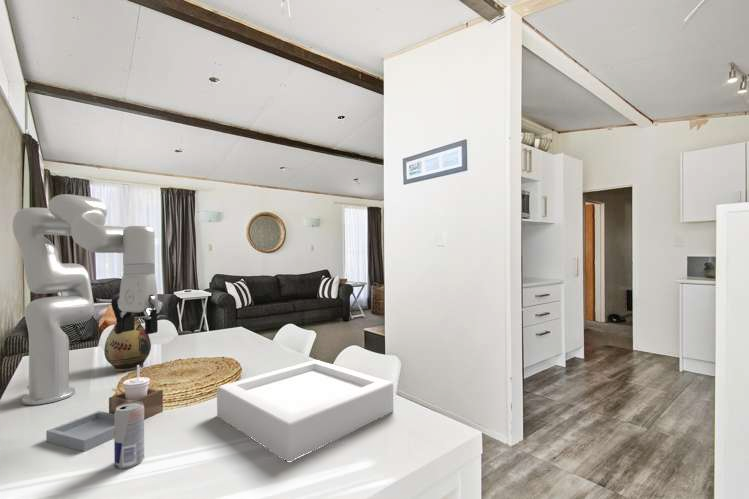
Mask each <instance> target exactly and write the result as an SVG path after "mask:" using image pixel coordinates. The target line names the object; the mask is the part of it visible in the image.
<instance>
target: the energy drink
mask: <svg viewBox="0 0 749 499" xmlns="http://www.w3.org/2000/svg"><path fill="white" fill-rule="evenodd" d="M113 440H114V445H113V446H114V450H113V451H114V452H113V453H114V456H113V457H114V458H113V461H114V467H115V468H117V469H121V470H123V469H129V468H133V467H135V466H137V465H140V463H142V462H143V461H144V459H145V420H144V406H143V403H142V402H129V403H125V404H122V405H120V406H118V407H117V408H116V410H115V413H114V438H113Z"/></svg>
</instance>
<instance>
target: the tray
mask: <svg viewBox="0 0 749 499" xmlns="http://www.w3.org/2000/svg"><path fill="white" fill-rule="evenodd" d="M391 412H392V413H393V412H394V383H393V382H392V381H391V380H386V379H382V378H380V377H377V376H376V377H375V376H372V375H370V374H369V375H368V374H366V373H362V372H359V371H356V370H353V369H350V368H346V367H342V366H338V365H337V364H333V363H328V362H325V361H322V360H319V359H313V360H310V361H306V362H303V363H298V364H296V365H292V366H288V367H284V368H281V369H276V370H274V371H273V370H272V371H270V372H266V373H261V374H258V375H255V376H251V377H247V378H243V379H239V380H236V381H232V382H228V383H225V384H222V385H219V386H217V388H216V415H217V418H219V419H220V418H221V419H220V420H222V421H223V420H224V422H225V423H226V422H227V423H226V424H228V423H229V424H230V426H231V425H232V426H231V427H233V426H234V427H235V428H234V427H233V428H234V429H236V428H237V429H239V430H240V431H242V432H243V433H245V434H246V435H248V436H250V437H252V438H253V439H255V440H256V441H258V442H259V443H261V444H262V445H264V446H265V447H266V448H268V449H269V450H271V451H272V452H274V453H275V454H277V455H278V456H280V457H282V458H283V459H285V460H286V461H292V460H294V459H295V458H297V457H299V456H301V455H303V454H306V453H308V452H310V451H313V450H315V449H317V448H319V447H321V446H323V445H325V444H327V443H329V442H331V441H333V442H335V441H334V440H336V439H338V438H340V437H342V436H344V435H346V434H348V433H350V434H351V432H352V433H354V432H356V431H357V430H356V429H358V428H360V427H362V426H364V425H366V424H368V423H370V422H372V421H374V420H376V419H378V418H380V417H382V416H384V415H386V416H388V415H390V414H392V413H391ZM389 413H390V414H389ZM387 414H388V415H387ZM384 417H385V416H384ZM382 418H383V417H382ZM380 419H381V418H380ZM378 420H379V419H378ZM376 421H377V420H376ZM374 422H375V421H374ZM372 423H373V422H372ZM229 424H228V425H229ZM370 424H371V423H370ZM368 425H369V424H368ZM366 426H367V425H366ZM364 427H365V426H364ZM362 428H363V427H362ZM237 429H236V430H237ZM360 429H361V428H360ZM239 430H238V431H239ZM355 430H356V431H355ZM358 430H359V429H358ZM240 431H239V432H240ZM353 431H354V432H353ZM242 432H241V433H242ZM243 433H242V434H243ZM245 434H244V435H245ZM246 435H245V436H246ZM348 435H349V434H348ZM248 436H247V437H248ZM346 436H347V435H346ZM344 437H345V436H344ZM342 438H343V437H342ZM340 439H341V438H340ZM338 440H339V439H338ZM336 441H337V440H336ZM331 443H332V442H331ZM329 444H330V443H329ZM327 445H328V444H327ZM325 446H326V445H325ZM265 447H264V448H265ZM323 447H324V446H323ZM266 448H265V449H266ZM321 448H322V447H321ZM268 449H267V450H268ZM319 449H320V448H319ZM269 450H268V451H269ZM317 450H318V449H317ZM271 451H270V452H271ZM315 451H316V450H315ZM272 452H271V453H272ZM313 452H314V451H313ZM274 453H273V454H274ZM275 454H274V455H275ZM277 455H276V456H277ZM278 456H277V457H278ZM280 457H279V458H280ZM283 459H282V460H283ZM286 461H285V462H286Z"/></svg>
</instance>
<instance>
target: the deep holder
mask: <svg viewBox="0 0 749 499" xmlns="http://www.w3.org/2000/svg"><path fill="white" fill-rule="evenodd" d="M163 392H164V390H163V389H158V388H151V387H148V391H147V395H145V396H143V397H140V398H138V399H135V400H129V399H126V396H125V391H124V392H122V393H119V394H115V395H113V396H109V397H108V413H111V414H114V413H115V410H116V408H117V407H118V406H120V405H122V404H125V403H129V402H142V403H143V406H144V421H145V420H147V419H149V418H152V417H153V416H156V415H158V414H160V413H163V412H164V411H163V410H164V403H163V402H164V400H163V398H164V396H163V395H164V393H163Z"/></svg>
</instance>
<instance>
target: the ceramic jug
mask: <svg viewBox="0 0 749 499" xmlns="http://www.w3.org/2000/svg"><path fill="white" fill-rule="evenodd" d="M119 297H120V293H116V294H114V295H113V296H112V297H111V303H110V304H111V308H112V311H113V314H114V317H115V319H116V323H115V324H114V326H113V327H112V329H111V331H110V332H109V334H108V335H107V337H106V340H105V344H104V349H103V350H104V351H103V353H104V357H105V359H106V361H107V362H108V363H109V364H110V365H111V366H112V367H114V371H115V372H123V371H132V370H137V365H139V369H141V368H143V367H142V366H144V363H145V361H146V360H147V358H148V357H149V356H150V354H151V350H152V343H151V339H150V336H149V335H150V334H145V326H143V325H142V323H140V321H139V320H138V319H137V318H136V317H135V316H134V314H133V315H132V316H134V319H135V329H134V330H132V331H127V332H122V318H123V317H121V312H120V311H119V305H118V301H119ZM140 367H141V368H140Z"/></svg>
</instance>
